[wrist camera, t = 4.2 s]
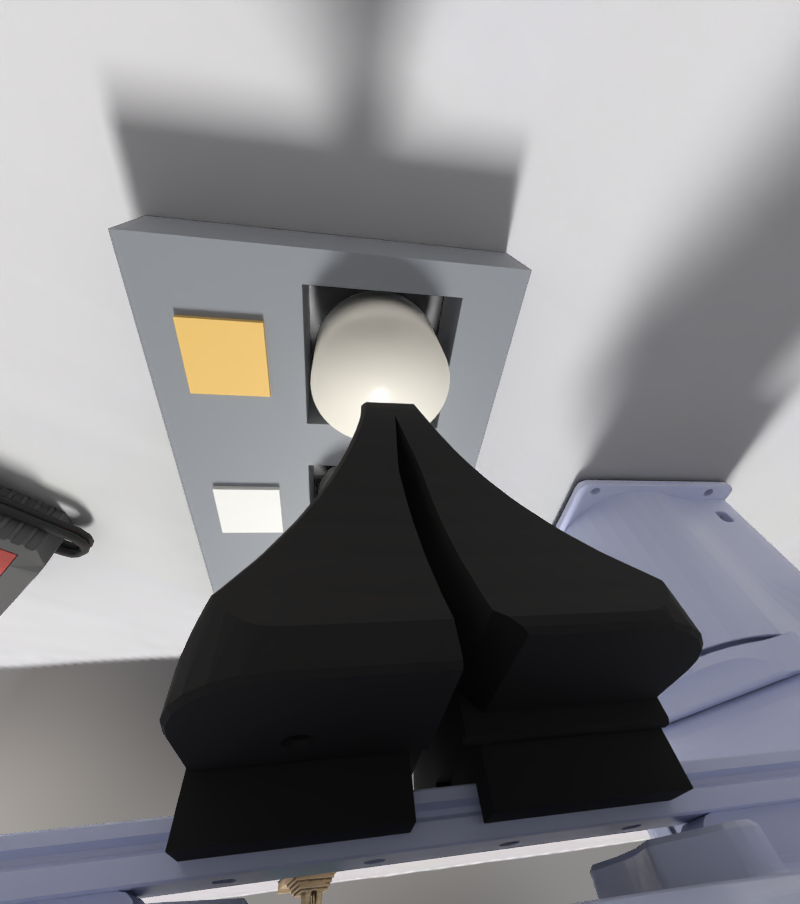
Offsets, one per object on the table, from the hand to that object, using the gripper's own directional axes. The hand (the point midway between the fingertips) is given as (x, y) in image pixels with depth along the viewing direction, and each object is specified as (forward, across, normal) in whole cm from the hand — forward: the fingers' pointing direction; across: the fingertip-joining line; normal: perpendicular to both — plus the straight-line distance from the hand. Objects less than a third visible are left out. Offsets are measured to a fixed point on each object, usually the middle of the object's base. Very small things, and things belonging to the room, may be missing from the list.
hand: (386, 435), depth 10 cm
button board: (+7, +1, +7) cm, 10 cm away
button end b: (+5, 0, 0) cm, 5 cm away
